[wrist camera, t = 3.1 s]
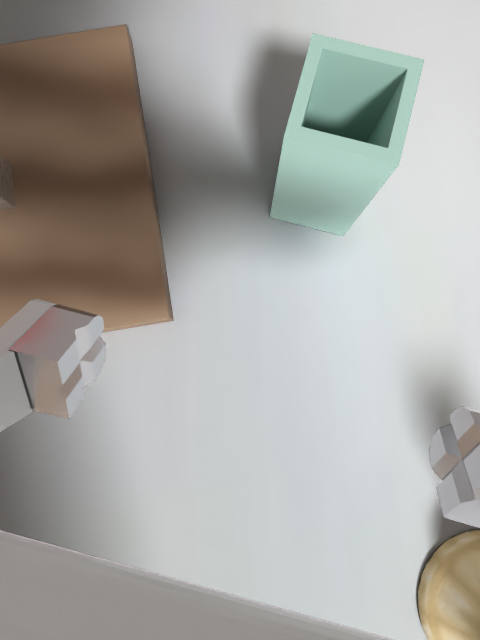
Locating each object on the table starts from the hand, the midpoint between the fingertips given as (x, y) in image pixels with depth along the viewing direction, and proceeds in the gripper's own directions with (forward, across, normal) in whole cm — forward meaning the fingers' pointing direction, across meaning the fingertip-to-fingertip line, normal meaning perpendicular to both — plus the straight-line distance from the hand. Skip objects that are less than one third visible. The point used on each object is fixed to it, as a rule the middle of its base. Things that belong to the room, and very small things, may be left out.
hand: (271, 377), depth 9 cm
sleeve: (+20, -1, +2) cm, 20 cm away
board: (+16, +19, +6) cm, 25 cm away
